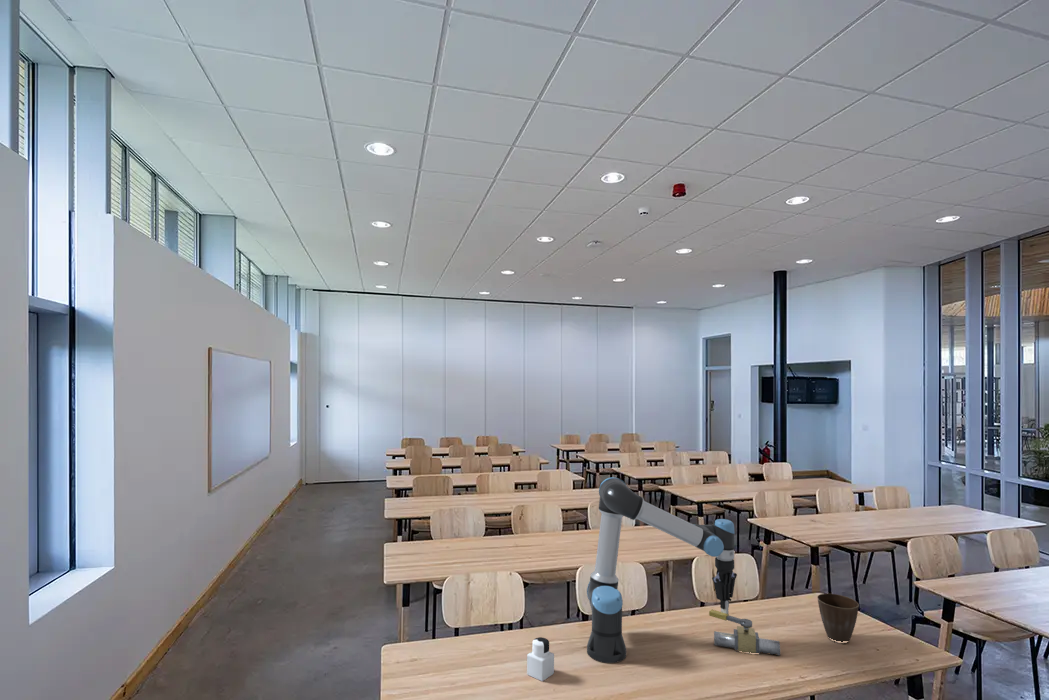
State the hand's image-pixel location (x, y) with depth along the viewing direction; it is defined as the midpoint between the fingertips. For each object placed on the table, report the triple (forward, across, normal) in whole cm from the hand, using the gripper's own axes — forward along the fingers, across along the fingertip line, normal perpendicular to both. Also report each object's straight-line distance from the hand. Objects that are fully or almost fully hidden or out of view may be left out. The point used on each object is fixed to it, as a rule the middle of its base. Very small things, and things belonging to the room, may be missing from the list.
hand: (724, 616), depth 225 cm
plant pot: (+10, +41, -24) cm, 48 cm away
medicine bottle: (+9, -81, +16) cm, 83 cm away
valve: (+9, 0, -10) cm, 14 cm away
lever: (0, -1, -4) cm, 4 cm away
